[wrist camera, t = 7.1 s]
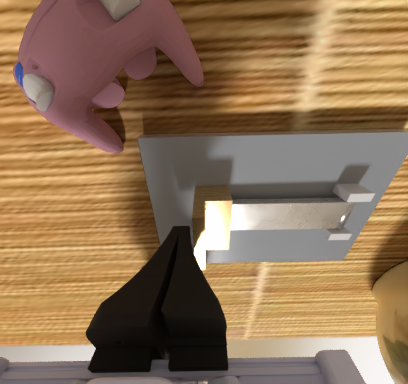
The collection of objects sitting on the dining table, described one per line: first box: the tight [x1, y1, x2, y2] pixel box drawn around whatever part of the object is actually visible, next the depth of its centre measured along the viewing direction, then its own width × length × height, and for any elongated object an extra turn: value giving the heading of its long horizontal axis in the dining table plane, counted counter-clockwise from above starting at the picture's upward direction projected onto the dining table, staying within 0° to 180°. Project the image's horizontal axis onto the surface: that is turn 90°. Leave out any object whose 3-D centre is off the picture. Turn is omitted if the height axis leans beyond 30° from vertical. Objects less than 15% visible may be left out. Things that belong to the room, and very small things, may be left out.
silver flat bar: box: [230, 198, 357, 230], centre depth 15 cm, size 3×12×1 cm, turn 91°
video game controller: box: [13, 0, 204, 153], centre depth 10 cm, size 10×5×7 cm, turn 125°
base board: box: [137, 129, 408, 263], centre depth 16 cm, size 15×22×3 cm
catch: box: [192, 186, 233, 270], centre depth 14 cm, size 5×3×4 cm, turn 1°
